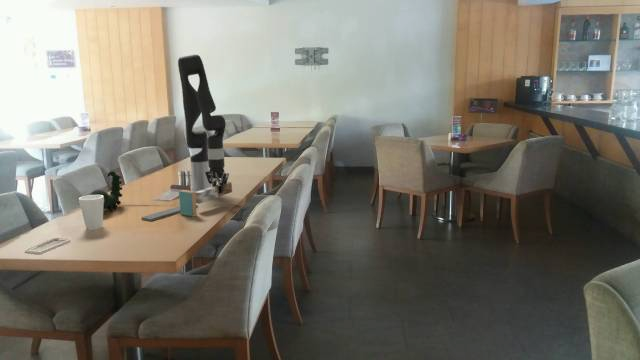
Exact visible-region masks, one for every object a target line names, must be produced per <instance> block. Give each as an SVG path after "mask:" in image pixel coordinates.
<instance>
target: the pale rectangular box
mask: <svg viewBox="0 0 640 360" xmlns="http://www.w3.org/2000/svg"><path fill="white" fill-rule="evenodd" d="M232 184H233V183H232V181H227V184H225V185H223V193H221V194H219V187H218V186H219V185H218V184H216V185H215V186H212V185H211V187H209V188H206V189H203V190H200V191H197V192H195V196H196V204H199V205H200V204H203V203H206V202H208V201H211V200H214V199H217V198H221V197H222V196H225V195H228V194H231V193H233V187H232Z"/></svg>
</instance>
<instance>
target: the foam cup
mask: <svg viewBox="0 0 640 360" xmlns="http://www.w3.org/2000/svg"><path fill="white" fill-rule="evenodd" d="M78 201H79V204H78V205H80V210H81V213H82V217H83V221H84V225H85V228H86V230H90V231H91V230H92V231H93V230H98V229H102V228H103V226H104V225H103V224H104V209H103V204H104V196H103V195H90V194H89V195H88V194H87V195H84V196H83V195H82V196H80V197H79V198H78Z"/></svg>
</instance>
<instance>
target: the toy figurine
mask: <svg viewBox="0 0 640 360" xmlns="http://www.w3.org/2000/svg"><path fill="white" fill-rule="evenodd" d="M110 176H111V187H110V190H111V191H110V193H108V192H106V191H105V190H102V189H95V190H93V191H92V192H91V193H89V195H103V196H104V204H103V210H108V211H113V209H115V210H117V209H118V207H119V206H120V205H121V204H122V202H121V200H120V199H119V198H121V197H123V193H121V192H120V191H122V190H123V187H122V186H120V185H122V183H123V181H121V180H120V179H121V178H122V176H121V175H119V174H117V173H116V171H113V170H110V171H108V173H107V177H108V178H109V177H110Z"/></svg>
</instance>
